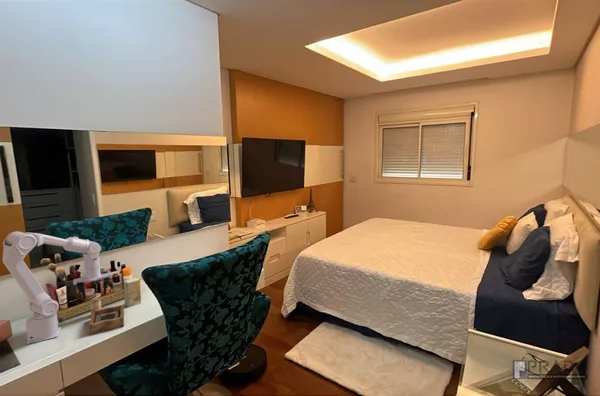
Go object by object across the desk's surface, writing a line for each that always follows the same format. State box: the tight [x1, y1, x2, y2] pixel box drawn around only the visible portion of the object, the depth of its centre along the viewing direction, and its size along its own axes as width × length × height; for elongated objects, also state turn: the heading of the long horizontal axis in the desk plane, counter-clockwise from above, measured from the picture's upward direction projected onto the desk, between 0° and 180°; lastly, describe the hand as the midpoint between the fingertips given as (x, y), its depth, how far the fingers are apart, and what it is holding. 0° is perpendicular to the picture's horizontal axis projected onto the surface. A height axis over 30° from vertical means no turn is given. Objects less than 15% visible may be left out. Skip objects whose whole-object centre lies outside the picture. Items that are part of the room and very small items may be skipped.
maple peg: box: [89, 298, 102, 315], centre depth 139 cm, size 4×4×7 cm
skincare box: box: [123, 277, 142, 308], centre depth 150 cm, size 6×4×12 cm
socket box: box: [88, 304, 125, 335], centre depth 133 cm, size 12×14×4 cm
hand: (95, 295), depth 139 cm, fingers open, 7 cm apart
